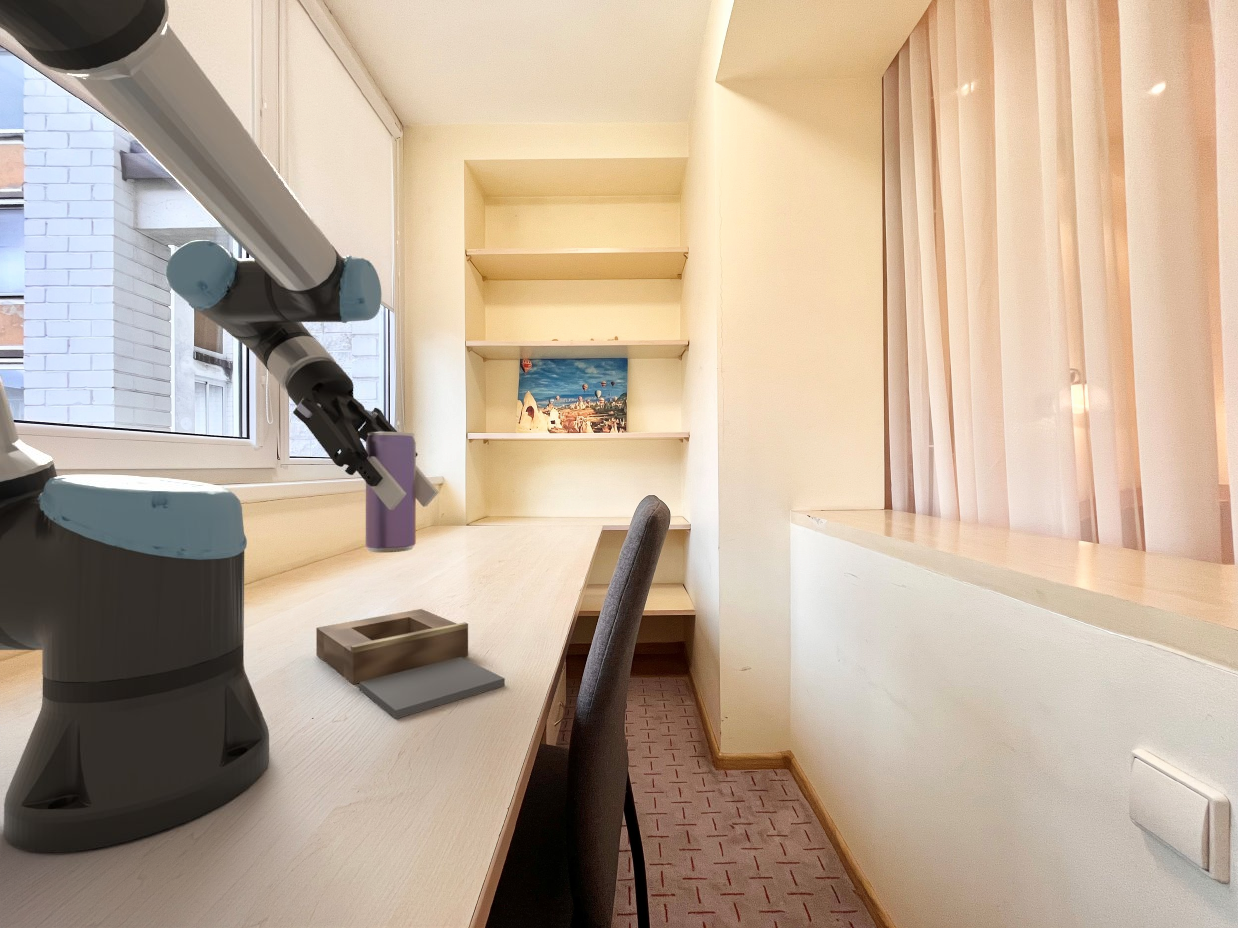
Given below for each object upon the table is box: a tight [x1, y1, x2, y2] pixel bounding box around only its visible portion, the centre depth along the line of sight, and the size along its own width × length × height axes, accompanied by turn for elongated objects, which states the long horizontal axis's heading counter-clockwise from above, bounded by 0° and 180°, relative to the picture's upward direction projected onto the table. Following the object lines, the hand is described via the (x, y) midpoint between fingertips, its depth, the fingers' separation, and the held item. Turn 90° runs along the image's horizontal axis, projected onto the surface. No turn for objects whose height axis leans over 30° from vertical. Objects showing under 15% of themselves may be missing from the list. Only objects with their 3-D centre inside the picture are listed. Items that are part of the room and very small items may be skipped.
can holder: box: [315, 608, 469, 685], centre depth 73 cm, size 14×14×4 cm
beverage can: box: [365, 431, 417, 554], centre depth 73 cm, size 6×6×15 cm
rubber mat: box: [358, 657, 506, 719], centre depth 62 cm, size 12×10×1 cm
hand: (415, 500), depth 72 cm, fingers closed on beverage can, 6 cm apart
